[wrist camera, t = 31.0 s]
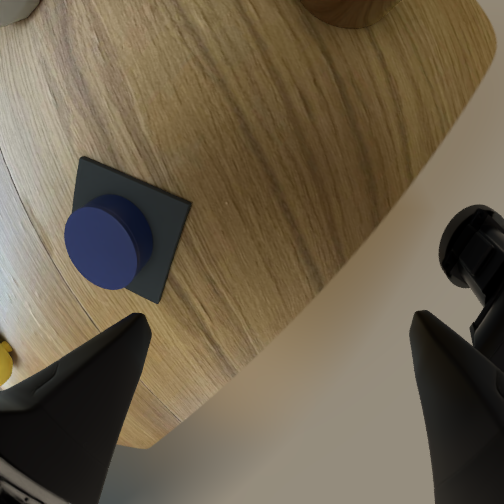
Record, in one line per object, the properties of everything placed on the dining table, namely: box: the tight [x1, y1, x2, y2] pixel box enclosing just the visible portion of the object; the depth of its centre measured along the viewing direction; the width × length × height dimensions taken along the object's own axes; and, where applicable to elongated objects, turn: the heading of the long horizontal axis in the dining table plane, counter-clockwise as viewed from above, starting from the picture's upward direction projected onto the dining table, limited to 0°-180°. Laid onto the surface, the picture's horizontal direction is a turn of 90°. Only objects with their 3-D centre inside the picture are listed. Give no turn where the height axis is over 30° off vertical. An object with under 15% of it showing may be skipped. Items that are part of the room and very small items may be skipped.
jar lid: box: [64, 194, 153, 290], centre depth 20 cm, size 7×7×3 cm
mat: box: [72, 156, 192, 304], centre depth 22 cm, size 10×10×1 cm
